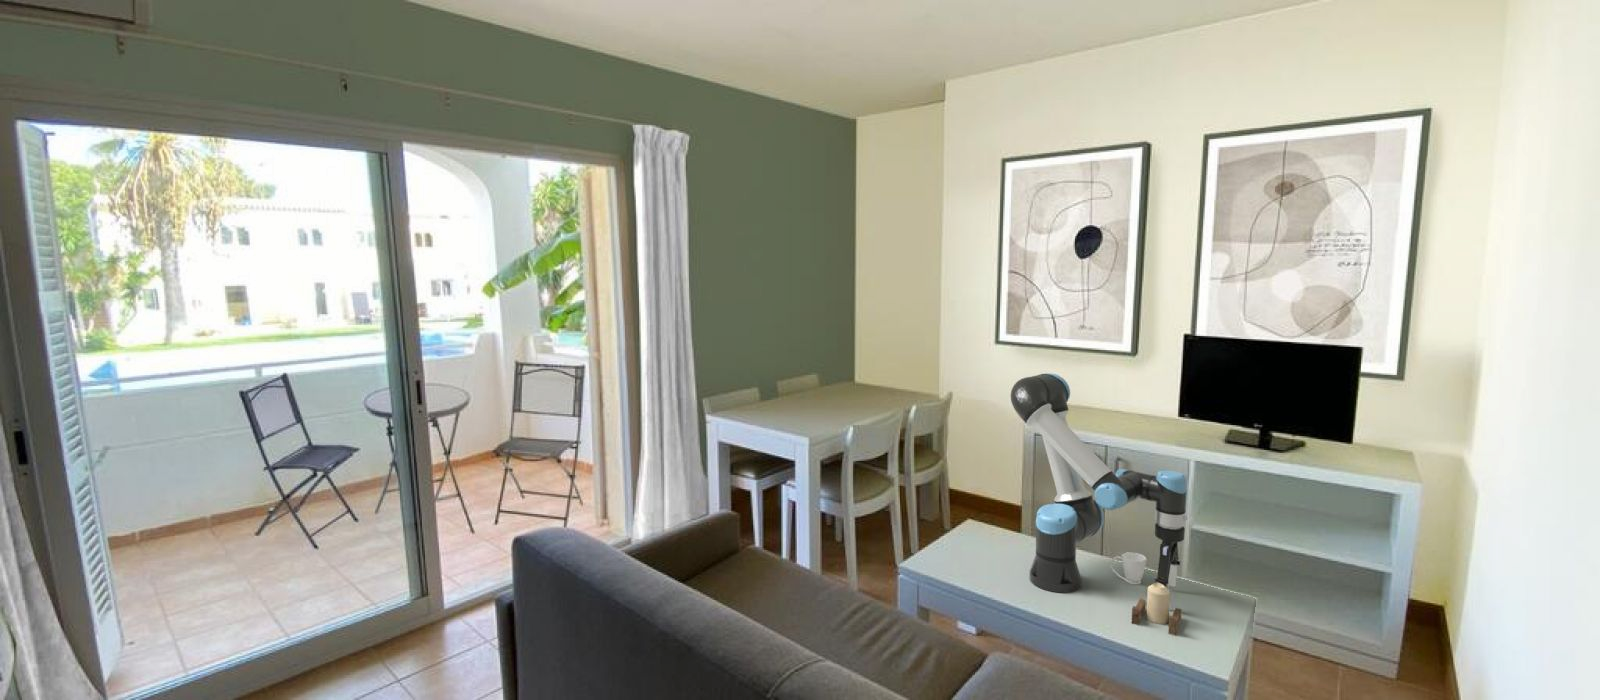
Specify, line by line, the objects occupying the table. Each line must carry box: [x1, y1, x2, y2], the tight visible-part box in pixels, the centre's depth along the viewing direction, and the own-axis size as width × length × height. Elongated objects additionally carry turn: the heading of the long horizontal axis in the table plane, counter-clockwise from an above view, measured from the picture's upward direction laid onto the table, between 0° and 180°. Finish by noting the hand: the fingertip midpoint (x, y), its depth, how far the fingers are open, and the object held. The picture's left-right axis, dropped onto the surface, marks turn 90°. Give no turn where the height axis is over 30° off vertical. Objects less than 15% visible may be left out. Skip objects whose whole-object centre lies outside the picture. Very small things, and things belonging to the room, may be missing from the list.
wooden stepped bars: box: [1131, 598, 1183, 636], centre depth 184 cm, size 10×10×4 cm
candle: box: [1146, 582, 1171, 625], centre depth 185 cm, size 6×6×10 cm
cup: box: [1110, 551, 1147, 585], centre depth 208 cm, size 7×10×8 cm
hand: (1166, 594), depth 196 cm, fingers open, 13 cm apart
